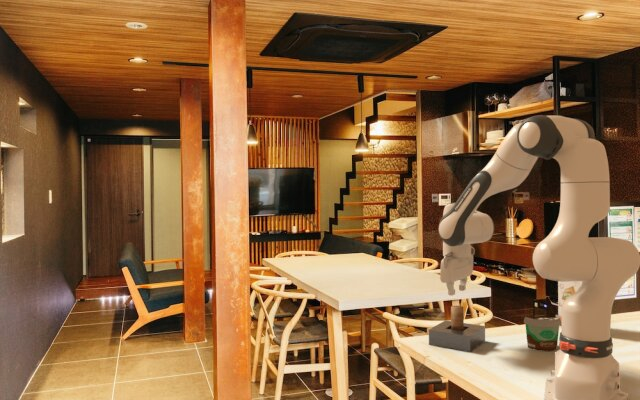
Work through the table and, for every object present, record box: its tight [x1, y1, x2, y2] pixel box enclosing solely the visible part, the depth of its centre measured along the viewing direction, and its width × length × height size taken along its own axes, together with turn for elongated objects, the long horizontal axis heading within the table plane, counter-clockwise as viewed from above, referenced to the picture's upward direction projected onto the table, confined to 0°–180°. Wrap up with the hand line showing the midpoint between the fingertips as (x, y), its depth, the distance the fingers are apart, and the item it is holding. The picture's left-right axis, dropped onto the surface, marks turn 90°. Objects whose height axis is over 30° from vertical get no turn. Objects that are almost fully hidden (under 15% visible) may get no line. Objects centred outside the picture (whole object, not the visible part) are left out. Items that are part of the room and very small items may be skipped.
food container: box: [523, 314, 562, 352], centre depth 167 cm, size 12×6×10 cm, turn 102°
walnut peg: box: [450, 305, 465, 331], centre depth 175 cm, size 4×4×12 cm
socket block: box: [428, 319, 486, 353], centre depth 175 cm, size 14×14×5 cm
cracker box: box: [557, 281, 582, 327], centre depth 189 cm, size 14×6×21 cm, turn 18°
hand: (457, 292), depth 175 cm, fingers open, 8 cm apart
